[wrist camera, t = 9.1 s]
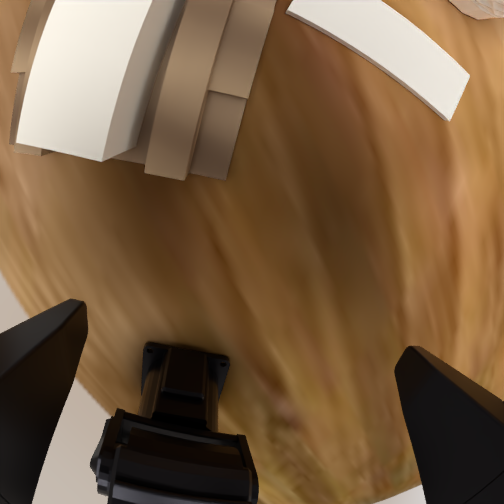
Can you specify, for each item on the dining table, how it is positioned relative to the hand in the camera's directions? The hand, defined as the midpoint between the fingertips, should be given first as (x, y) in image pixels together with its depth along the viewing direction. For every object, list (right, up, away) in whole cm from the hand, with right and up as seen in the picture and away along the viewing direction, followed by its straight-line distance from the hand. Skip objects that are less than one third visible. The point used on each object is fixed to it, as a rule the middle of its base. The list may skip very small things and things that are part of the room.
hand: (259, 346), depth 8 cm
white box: (-7, +14, +5) cm, 16 cm away
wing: (+8, +15, +7) cm, 19 cm away
